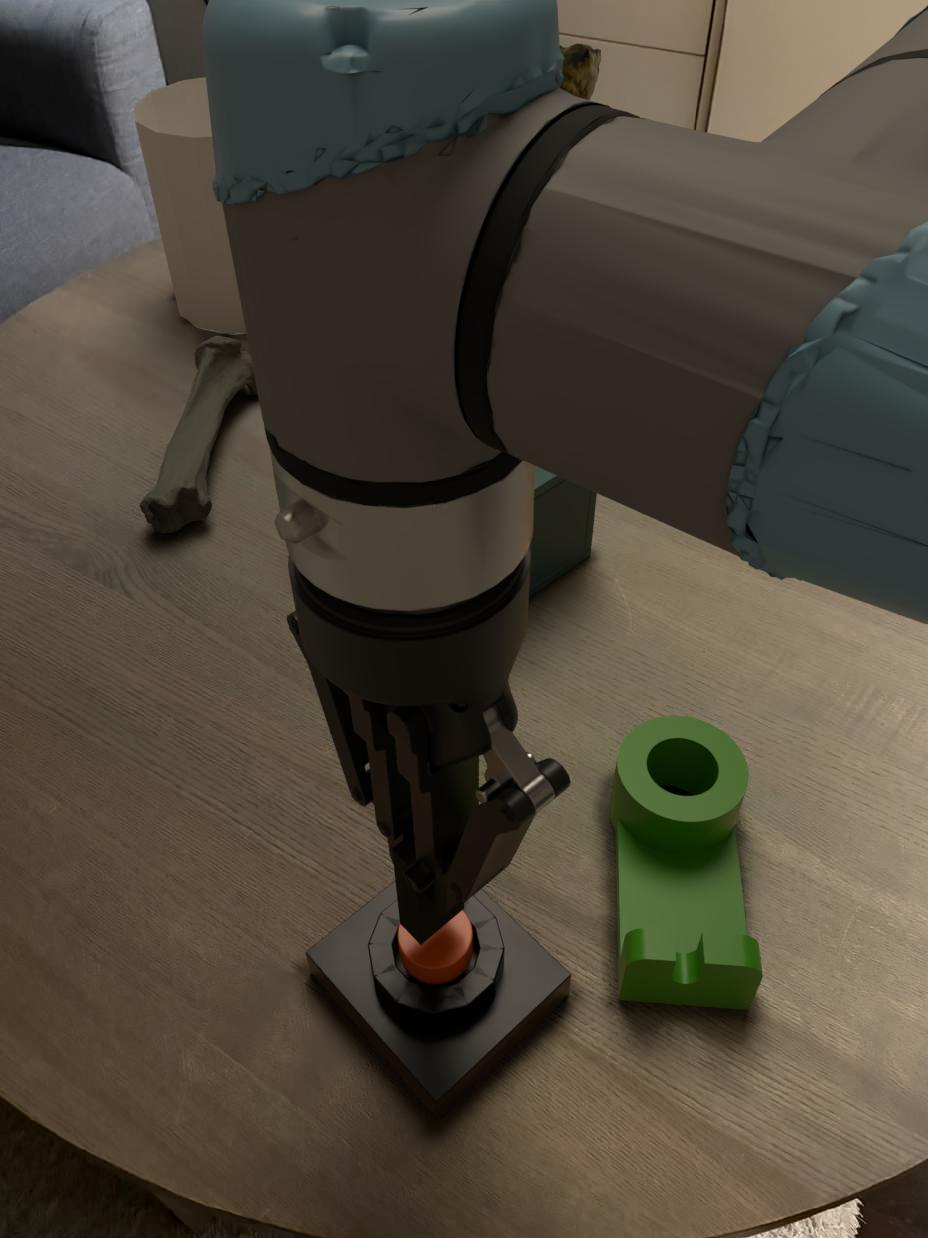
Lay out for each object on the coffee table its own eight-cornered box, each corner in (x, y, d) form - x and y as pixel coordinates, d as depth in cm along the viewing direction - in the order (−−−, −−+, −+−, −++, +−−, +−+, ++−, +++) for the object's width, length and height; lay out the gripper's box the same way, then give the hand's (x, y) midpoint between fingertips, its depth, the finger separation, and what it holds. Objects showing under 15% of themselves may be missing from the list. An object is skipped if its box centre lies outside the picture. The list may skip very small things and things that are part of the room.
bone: (204, 378, 93) (190, 317, 89) (276, 379, 93) (265, 318, 88) (133, 543, 78) (111, 478, 74) (219, 545, 78) (202, 480, 73)
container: (258, 247, 110) (228, 63, 97) (354, 290, 104) (336, 99, 91) (147, 300, 103) (99, 109, 90) (243, 350, 96) (205, 151, 83)
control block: (569, 994, 53) (574, 957, 50) (437, 1120, 49) (434, 1088, 46) (439, 867, 58) (436, 828, 56) (309, 971, 54) (300, 935, 51)
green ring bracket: (609, 760, 63) (616, 712, 60) (727, 767, 63) (741, 719, 60) (612, 999, 53) (621, 957, 50) (754, 1010, 53) (773, 968, 49)
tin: (323, 531, 79) (310, 434, 72) (448, 460, 84) (445, 365, 78) (464, 641, 70) (462, 544, 64) (591, 555, 76) (600, 458, 70)
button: (488, 951, 51) (488, 934, 50) (432, 1000, 49) (431, 984, 48) (439, 902, 53) (438, 885, 52) (384, 948, 51) (382, 931, 50)
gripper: (188, 493, 34) (284, 874, 51) (462, 728, 27) (467, 1076, 44) (369, 401, 37) (403, 786, 54) (652, 588, 30) (589, 961, 47)
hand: (432, 916), depth 49 cm, fingers closed
